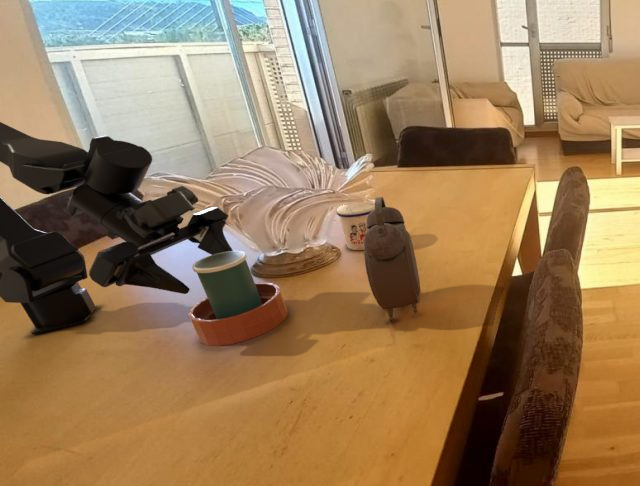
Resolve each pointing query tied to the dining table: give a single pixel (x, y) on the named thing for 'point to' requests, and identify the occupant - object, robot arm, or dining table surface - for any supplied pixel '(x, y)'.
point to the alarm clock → (390, 259)
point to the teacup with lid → (355, 223)
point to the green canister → (228, 283)
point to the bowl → (239, 319)
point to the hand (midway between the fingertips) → (214, 277)
